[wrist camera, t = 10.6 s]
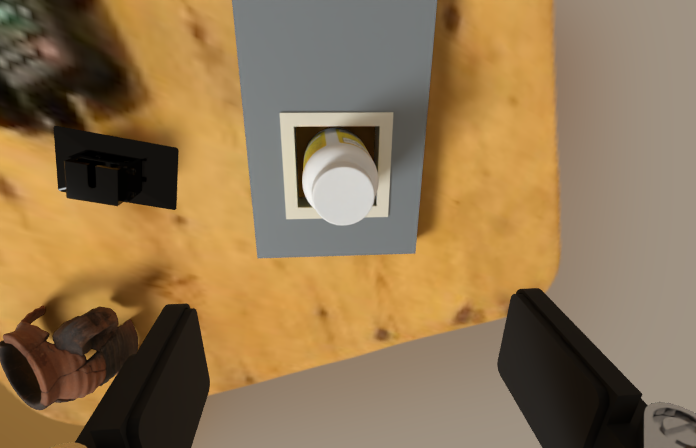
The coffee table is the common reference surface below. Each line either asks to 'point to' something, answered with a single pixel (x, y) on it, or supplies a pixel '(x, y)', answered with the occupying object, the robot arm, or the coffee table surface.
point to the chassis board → (334, 113)
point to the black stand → (115, 169)
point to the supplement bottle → (339, 176)
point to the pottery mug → (65, 356)
